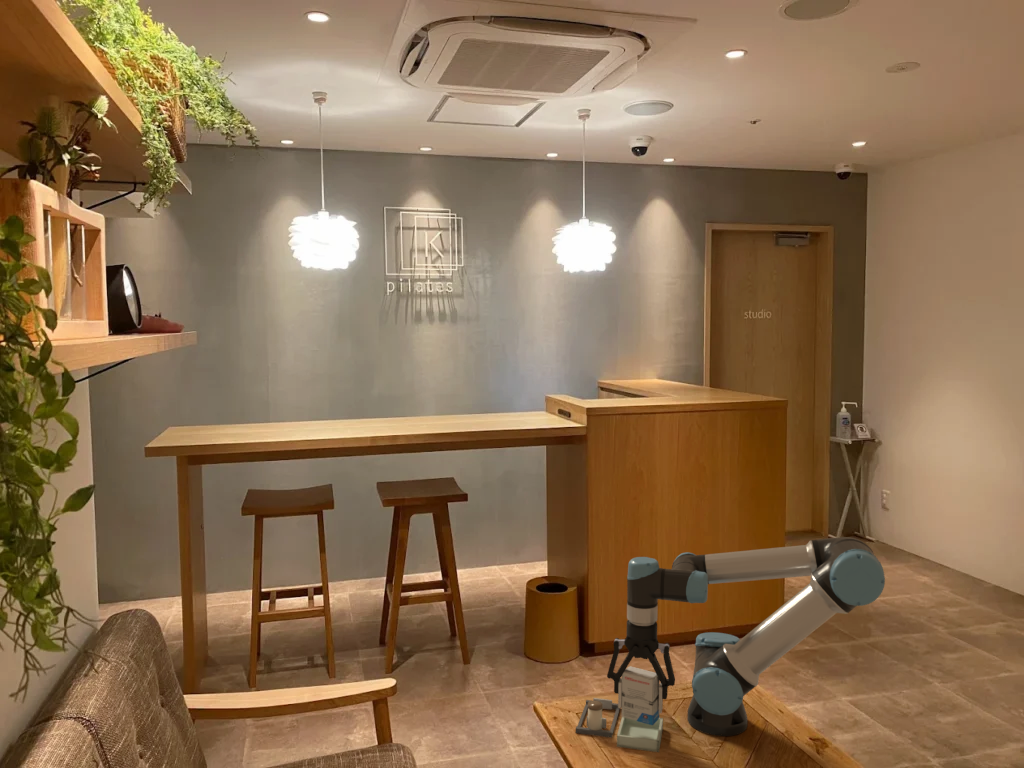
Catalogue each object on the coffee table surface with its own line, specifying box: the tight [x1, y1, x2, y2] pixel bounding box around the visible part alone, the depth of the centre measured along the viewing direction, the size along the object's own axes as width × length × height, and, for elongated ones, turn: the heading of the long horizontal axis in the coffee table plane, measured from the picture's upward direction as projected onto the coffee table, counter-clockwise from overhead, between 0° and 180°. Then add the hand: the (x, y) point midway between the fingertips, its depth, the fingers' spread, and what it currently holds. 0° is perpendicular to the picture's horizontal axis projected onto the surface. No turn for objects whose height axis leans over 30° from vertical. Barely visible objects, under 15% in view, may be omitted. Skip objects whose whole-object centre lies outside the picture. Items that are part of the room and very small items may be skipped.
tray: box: [616, 716, 664, 753], centre depth 206 cm, size 10×12×3 cm
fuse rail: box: [575, 697, 621, 739], centre depth 215 cm, size 9×16×2 cm, turn 165°
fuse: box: [587, 700, 603, 730], centre depth 209 cm, size 4×4×7 cm
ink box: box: [621, 665, 660, 725], centre depth 205 cm, size 9×5×12 cm, turn 57°
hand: (640, 708), depth 206 cm, fingers closed on ink box, 9 cm apart
